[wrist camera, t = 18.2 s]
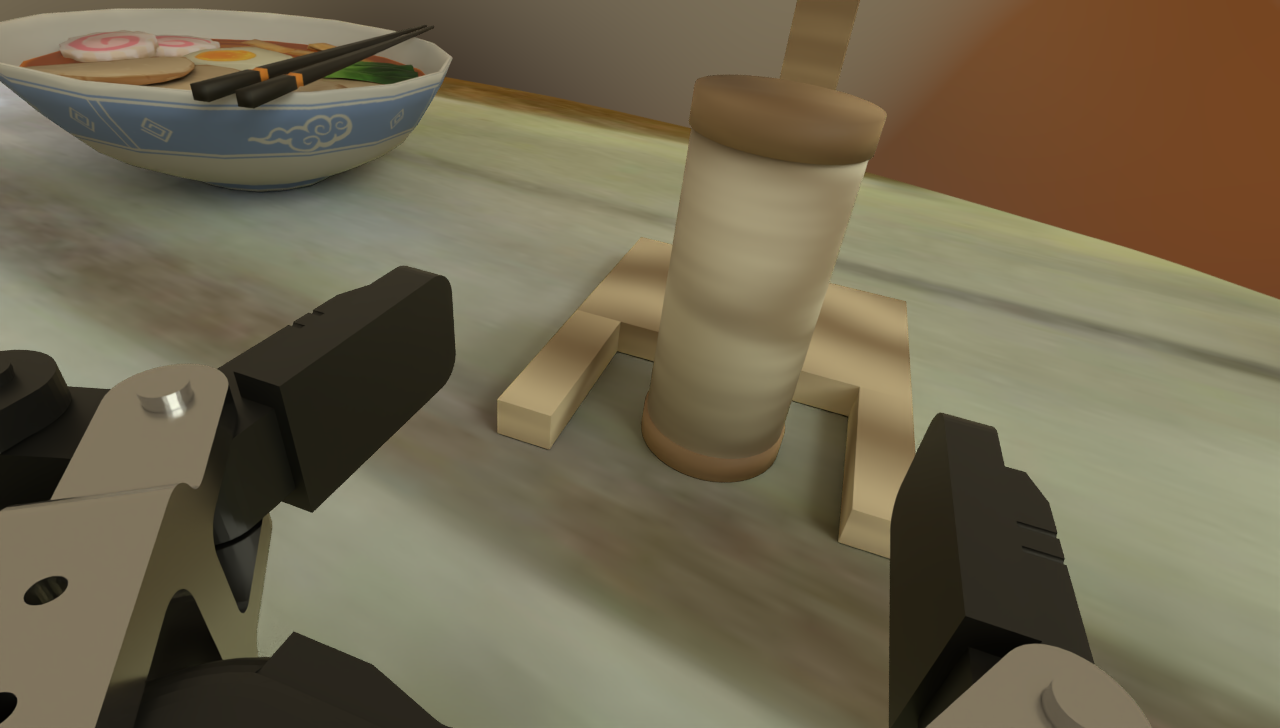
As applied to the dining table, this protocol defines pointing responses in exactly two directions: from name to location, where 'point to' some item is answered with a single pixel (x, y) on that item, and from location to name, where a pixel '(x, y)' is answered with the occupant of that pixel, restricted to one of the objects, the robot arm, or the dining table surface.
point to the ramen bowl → (224, 89)
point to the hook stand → (834, 364)
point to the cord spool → (751, 265)
